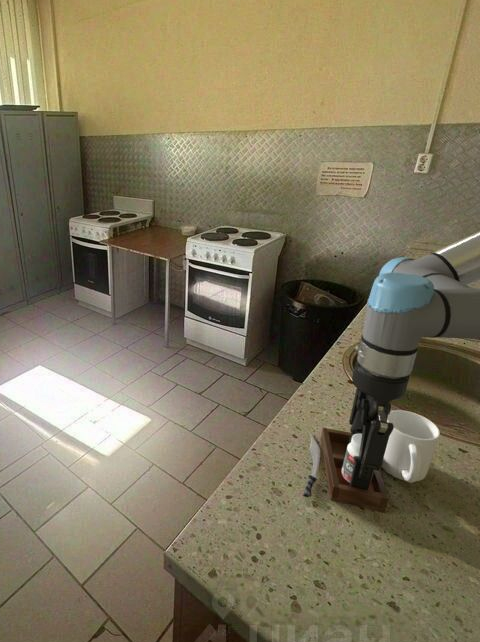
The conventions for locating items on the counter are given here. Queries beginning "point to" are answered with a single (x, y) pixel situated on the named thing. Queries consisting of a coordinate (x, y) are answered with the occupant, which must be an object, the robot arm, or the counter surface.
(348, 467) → the pill bottle
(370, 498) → the wooden divided tray
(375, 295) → the robot arm
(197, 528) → the counter surface
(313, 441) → the knife
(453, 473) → the counter surface
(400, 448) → the mug
